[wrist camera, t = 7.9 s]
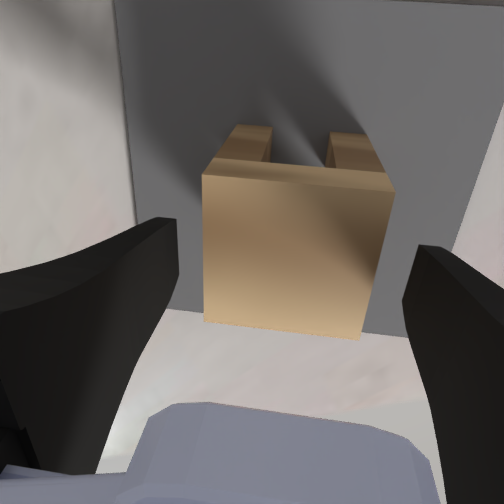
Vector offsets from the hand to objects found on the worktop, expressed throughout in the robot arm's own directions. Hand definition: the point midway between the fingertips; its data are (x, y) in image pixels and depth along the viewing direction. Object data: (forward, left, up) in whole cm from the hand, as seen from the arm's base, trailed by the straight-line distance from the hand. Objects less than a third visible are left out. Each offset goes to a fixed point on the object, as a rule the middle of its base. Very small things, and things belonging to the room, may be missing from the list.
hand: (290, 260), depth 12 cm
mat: (0, 0, -6) cm, 6 cm away
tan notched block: (0, 0, -6) cm, 6 cm away
